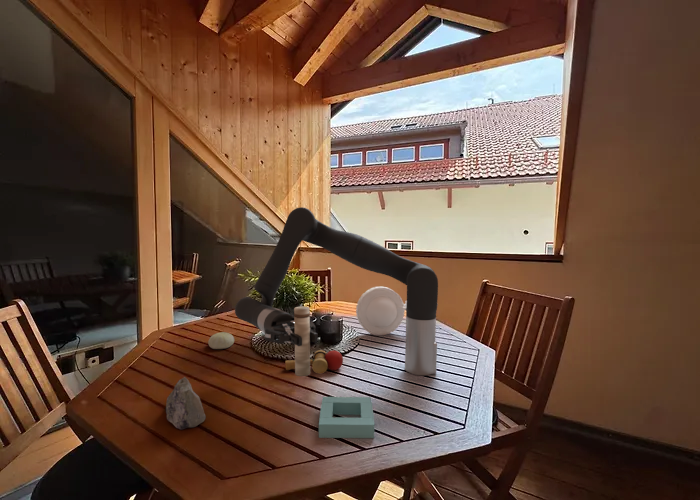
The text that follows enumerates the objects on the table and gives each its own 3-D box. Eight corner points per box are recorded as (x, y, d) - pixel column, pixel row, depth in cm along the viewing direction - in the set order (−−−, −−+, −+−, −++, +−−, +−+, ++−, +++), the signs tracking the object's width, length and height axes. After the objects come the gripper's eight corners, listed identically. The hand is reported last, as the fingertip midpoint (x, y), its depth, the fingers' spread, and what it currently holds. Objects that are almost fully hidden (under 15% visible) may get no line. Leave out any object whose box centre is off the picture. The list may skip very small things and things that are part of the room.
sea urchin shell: (241, 338, 136) (230, 327, 130) (230, 357, 131) (219, 347, 125) (222, 335, 139) (211, 324, 134) (212, 353, 135) (200, 343, 129)
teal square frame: (370, 408, 89) (371, 397, 89) (374, 438, 77) (374, 424, 77) (322, 408, 89) (322, 396, 89) (318, 437, 77) (318, 424, 77)
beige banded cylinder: (311, 370, 88) (310, 306, 87) (309, 376, 84) (308, 310, 83) (296, 370, 88) (295, 306, 87) (293, 376, 84) (292, 310, 83)
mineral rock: (172, 403, 91) (171, 365, 90) (215, 401, 92) (215, 363, 91) (151, 433, 78) (149, 389, 77) (202, 430, 79) (201, 386, 79)
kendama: (285, 380, 108) (344, 371, 109) (282, 359, 108) (341, 350, 109) (288, 374, 115) (343, 365, 116) (286, 354, 116) (341, 346, 117)
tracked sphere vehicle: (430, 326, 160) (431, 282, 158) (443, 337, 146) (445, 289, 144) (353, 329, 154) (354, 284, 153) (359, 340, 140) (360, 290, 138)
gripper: (250, 313, 92) (280, 329, 79) (298, 306, 101) (333, 319, 87) (251, 342, 93) (281, 362, 79) (299, 332, 101) (333, 349, 88)
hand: (308, 339), depth 83 cm, fingers closed on beige banded cylinder, 3 cm apart
